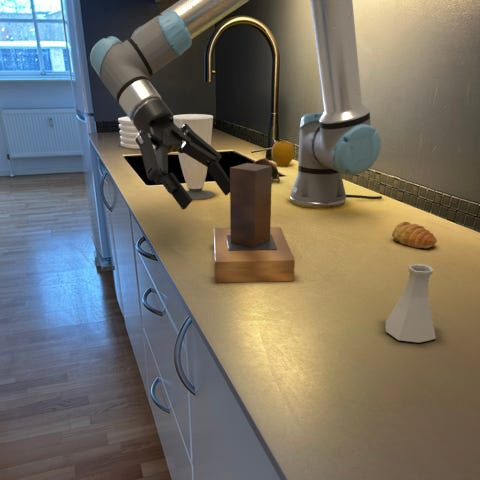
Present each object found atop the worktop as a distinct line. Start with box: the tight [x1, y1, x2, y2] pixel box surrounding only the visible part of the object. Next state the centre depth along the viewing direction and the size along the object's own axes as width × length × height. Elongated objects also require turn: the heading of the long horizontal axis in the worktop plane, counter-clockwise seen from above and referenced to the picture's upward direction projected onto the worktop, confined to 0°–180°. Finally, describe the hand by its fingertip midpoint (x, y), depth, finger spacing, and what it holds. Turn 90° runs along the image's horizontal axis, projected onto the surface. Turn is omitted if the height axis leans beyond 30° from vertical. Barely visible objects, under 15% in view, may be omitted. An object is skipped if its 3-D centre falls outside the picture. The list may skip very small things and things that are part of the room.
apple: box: [270, 140, 295, 167], centre depth 189 cm, size 9×8×9 cm
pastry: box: [391, 221, 438, 249], centre depth 109 cm, size 9×7×4 cm
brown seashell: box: [252, 157, 281, 184], centre depth 165 cm, size 12×10×8 cm
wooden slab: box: [213, 226, 296, 284], centre depth 99 cm, size 14×20×4 cm
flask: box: [384, 263, 437, 344], centre depth 72 cm, size 7×7×10 cm
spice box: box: [229, 162, 273, 248], centre depth 95 cm, size 6×6×14 cm
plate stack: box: [117, 115, 155, 150], centre depth 236 cm, size 28×28×12 cm
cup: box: [173, 113, 216, 201], centre depth 144 cm, size 12×12×22 cm
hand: (210, 198), depth 100 cm, fingers open, 13 cm apart
